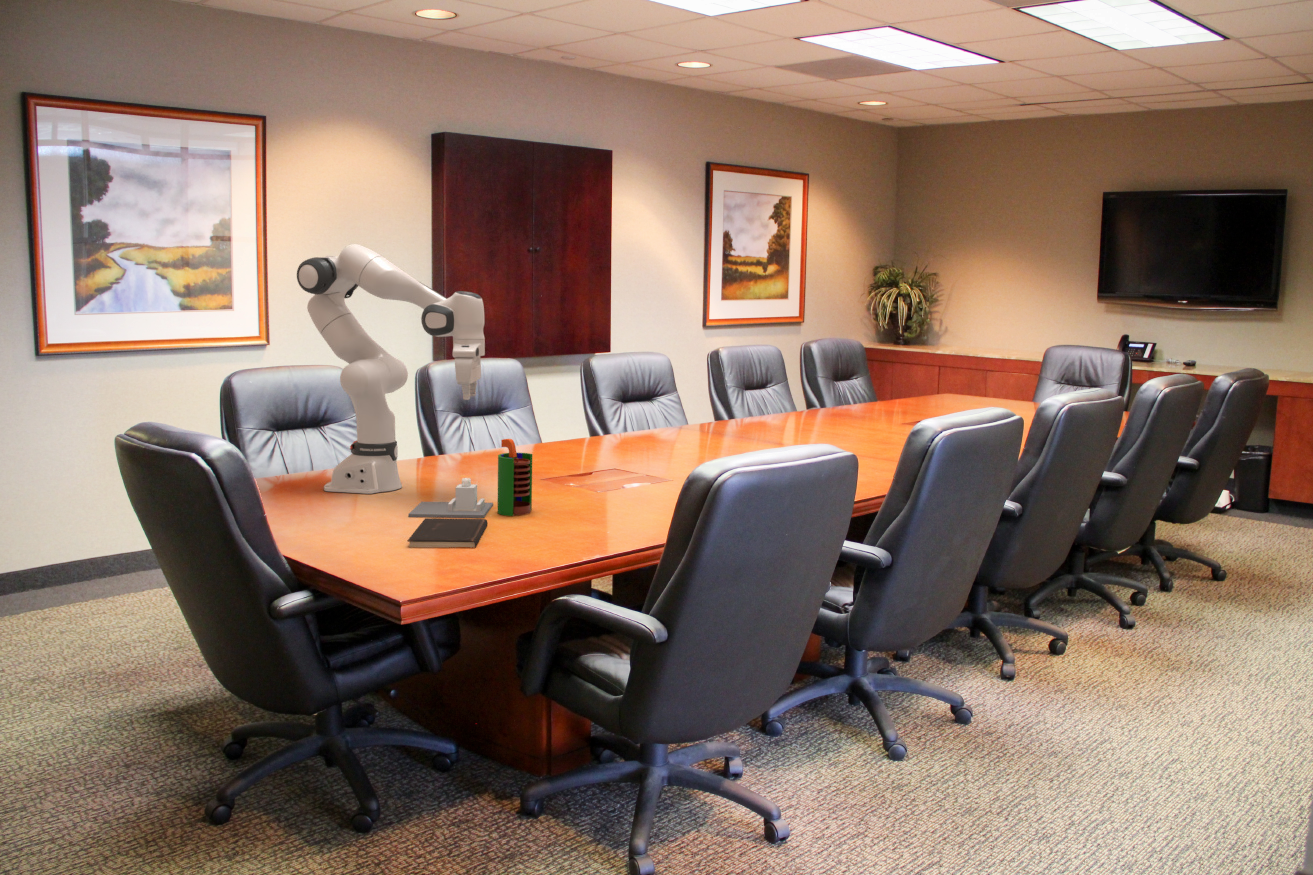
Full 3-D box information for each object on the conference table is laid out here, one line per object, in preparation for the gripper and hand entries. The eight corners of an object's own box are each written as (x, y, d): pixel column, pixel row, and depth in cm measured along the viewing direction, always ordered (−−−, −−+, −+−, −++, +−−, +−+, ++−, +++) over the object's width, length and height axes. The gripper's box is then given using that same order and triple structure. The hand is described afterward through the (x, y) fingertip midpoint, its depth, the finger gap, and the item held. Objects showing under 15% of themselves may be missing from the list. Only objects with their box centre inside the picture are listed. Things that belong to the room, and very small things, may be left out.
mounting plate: (408, 516, 282) (408, 506, 281) (421, 504, 297) (421, 494, 297) (483, 518, 282) (483, 507, 281) (492, 505, 298) (492, 495, 297)
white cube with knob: (455, 509, 287) (455, 480, 286) (459, 505, 292) (458, 476, 291) (474, 509, 287) (473, 480, 286) (477, 505, 292) (477, 477, 291)
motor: (523, 517, 284) (523, 443, 281) (492, 515, 286) (491, 441, 283) (535, 509, 294) (535, 437, 291) (504, 507, 295) (504, 436, 293)
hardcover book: (407, 549, 250) (407, 540, 250) (425, 527, 273) (425, 518, 273) (475, 550, 251) (475, 540, 251) (487, 527, 274) (487, 518, 273)
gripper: (464, 346, 311) (464, 393, 313) (451, 351, 291) (451, 401, 293) (485, 347, 311) (486, 394, 313) (474, 351, 291) (474, 401, 293)
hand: (469, 397), depth 303 cm, fingers open, 8 cm apart
